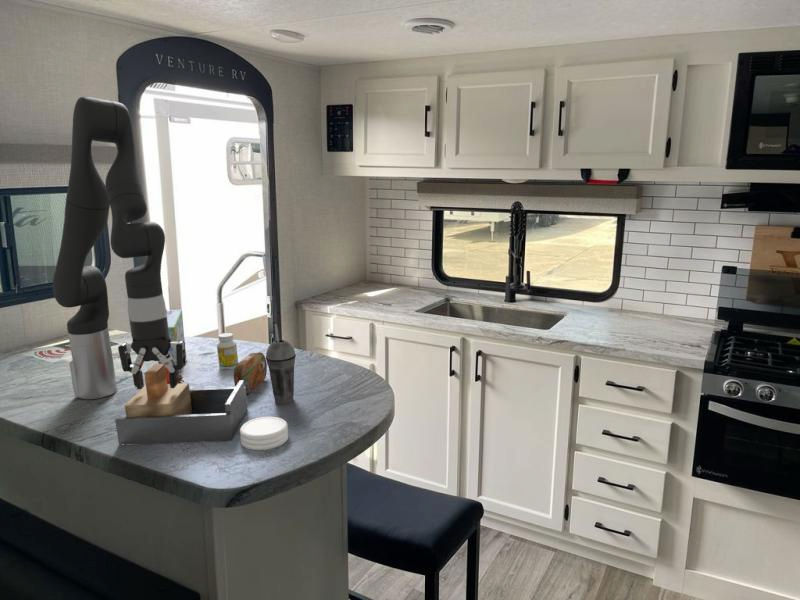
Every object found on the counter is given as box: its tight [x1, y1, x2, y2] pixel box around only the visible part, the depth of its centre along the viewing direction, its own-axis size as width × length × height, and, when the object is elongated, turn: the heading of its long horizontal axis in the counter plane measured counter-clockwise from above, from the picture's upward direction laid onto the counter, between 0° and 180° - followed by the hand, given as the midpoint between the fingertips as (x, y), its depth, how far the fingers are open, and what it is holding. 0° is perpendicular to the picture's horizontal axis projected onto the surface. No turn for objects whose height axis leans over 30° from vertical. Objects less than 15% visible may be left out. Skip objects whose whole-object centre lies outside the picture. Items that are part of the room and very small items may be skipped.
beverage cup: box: [265, 323, 297, 405], centre depth 150 cm, size 7×7×20 cm
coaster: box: [239, 416, 289, 451], centre depth 132 cm, size 10×10×4 cm
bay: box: [114, 380, 248, 446], centre depth 138 cm, size 24×16×8 cm, turn 92°
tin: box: [233, 351, 268, 395], centre depth 161 cm, size 15×3×8 cm, turn 168°
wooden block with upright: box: [124, 363, 192, 417], centre depth 137 cm, size 10×12×13 cm
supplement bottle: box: [216, 332, 239, 370], centre depth 177 cm, size 5×5×10 cm
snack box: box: [157, 309, 187, 375], centre depth 177 cm, size 21×6×15 cm, turn 14°
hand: (157, 387), depth 137 cm, fingers open, 6 cm apart
